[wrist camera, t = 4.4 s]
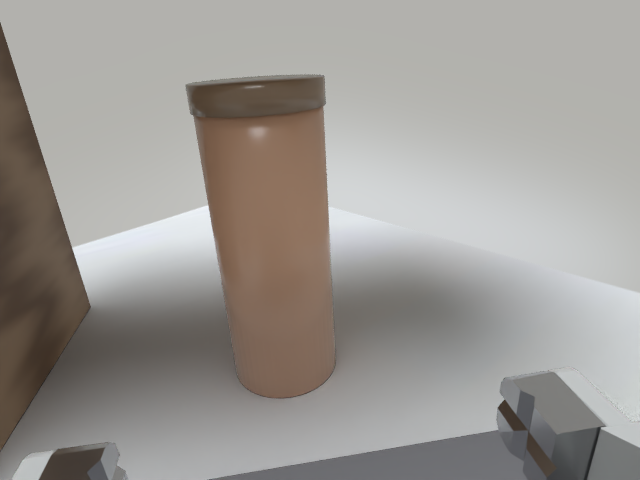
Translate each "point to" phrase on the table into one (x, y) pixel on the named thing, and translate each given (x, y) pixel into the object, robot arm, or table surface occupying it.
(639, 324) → the table surface
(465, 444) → the grey mat
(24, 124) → the walnut stand
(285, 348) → the terracotta jar
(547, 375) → the robot arm
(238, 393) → the table surface
